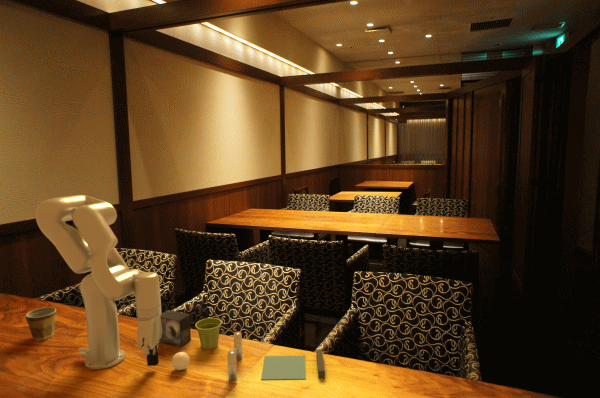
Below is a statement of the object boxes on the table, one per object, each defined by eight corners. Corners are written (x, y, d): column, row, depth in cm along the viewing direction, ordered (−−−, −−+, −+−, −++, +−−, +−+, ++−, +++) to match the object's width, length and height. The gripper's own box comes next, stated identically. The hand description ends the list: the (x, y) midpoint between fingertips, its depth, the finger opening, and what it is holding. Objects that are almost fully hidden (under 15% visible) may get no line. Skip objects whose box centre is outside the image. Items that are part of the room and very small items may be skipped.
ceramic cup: (63, 334, 157) (61, 310, 155) (35, 345, 148) (33, 319, 147) (47, 327, 164) (44, 303, 162) (19, 336, 155) (17, 312, 154)
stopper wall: (318, 378, 125) (318, 370, 125) (316, 356, 138) (316, 349, 138) (324, 378, 125) (324, 370, 125) (322, 356, 138) (322, 349, 138)
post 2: (234, 360, 136) (233, 335, 135) (235, 356, 139) (234, 331, 138) (241, 359, 136) (240, 335, 135) (242, 356, 139) (242, 331, 138)
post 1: (227, 381, 124) (226, 354, 123) (229, 376, 126) (228, 350, 125) (236, 381, 124) (235, 354, 123) (237, 376, 126) (236, 350, 125)
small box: (157, 342, 149) (156, 316, 148) (169, 335, 155) (168, 309, 154) (180, 347, 145) (179, 320, 144) (191, 339, 151) (190, 313, 150)
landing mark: (261, 379, 124) (261, 379, 124) (264, 356, 138) (264, 356, 138) (305, 379, 124) (305, 378, 124) (304, 356, 138) (304, 355, 138)
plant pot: (216, 353, 141) (215, 330, 140) (191, 350, 143) (190, 327, 142) (226, 340, 150) (225, 318, 149) (203, 338, 152) (202, 317, 151)
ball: (170, 373, 128) (169, 357, 128) (175, 364, 134) (174, 348, 133) (187, 373, 128) (186, 357, 128) (191, 364, 134) (191, 348, 133)
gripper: (146, 302, 136) (150, 353, 138) (127, 321, 121) (132, 377, 123) (168, 302, 136) (171, 352, 138) (152, 320, 121) (156, 377, 123)
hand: (153, 364), depth 131 cm, fingers closed
